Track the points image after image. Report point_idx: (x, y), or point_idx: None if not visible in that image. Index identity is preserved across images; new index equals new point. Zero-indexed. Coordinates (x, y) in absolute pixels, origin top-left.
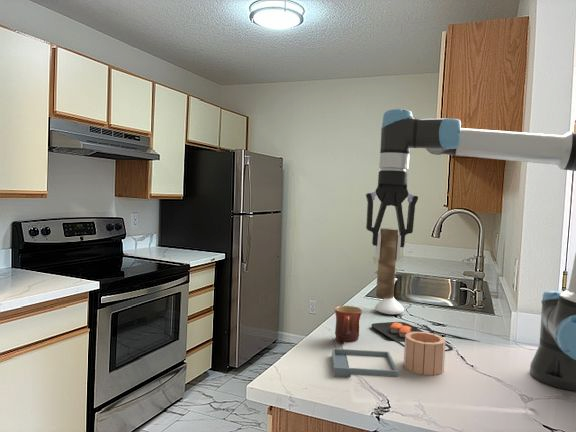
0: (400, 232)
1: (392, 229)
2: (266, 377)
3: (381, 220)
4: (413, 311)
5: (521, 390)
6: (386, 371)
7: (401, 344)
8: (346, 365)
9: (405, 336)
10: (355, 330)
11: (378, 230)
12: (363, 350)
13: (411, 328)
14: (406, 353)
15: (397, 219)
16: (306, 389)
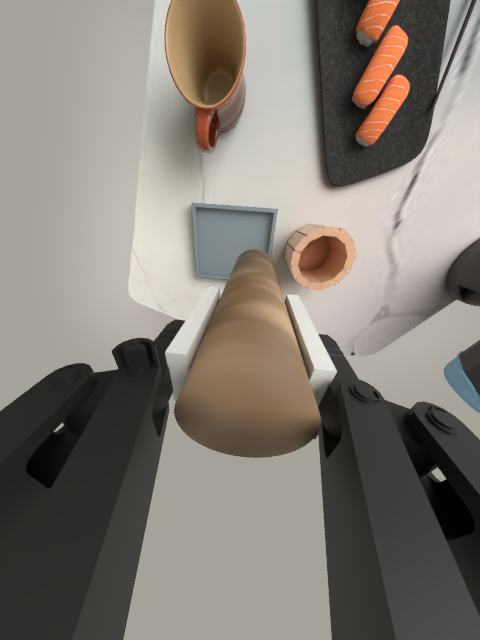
0: (326, 421)
1: (268, 431)
2: (133, 279)
3: (138, 532)
4: None
5: (395, 299)
6: None
7: (324, 136)
8: (212, 250)
9: (292, 253)
10: (232, 115)
11: (163, 421)
12: (238, 207)
13: None
14: (287, 260)
15: (373, 582)
16: (175, 302)
